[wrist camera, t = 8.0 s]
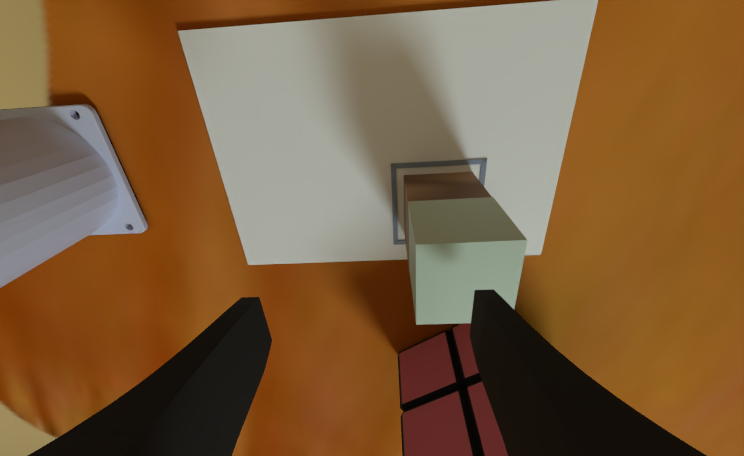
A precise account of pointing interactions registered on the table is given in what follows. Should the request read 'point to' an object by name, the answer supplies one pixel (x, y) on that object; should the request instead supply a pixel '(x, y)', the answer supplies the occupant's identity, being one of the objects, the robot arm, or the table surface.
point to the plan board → (386, 119)
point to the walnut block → (439, 191)
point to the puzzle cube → (446, 400)
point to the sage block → (461, 256)
